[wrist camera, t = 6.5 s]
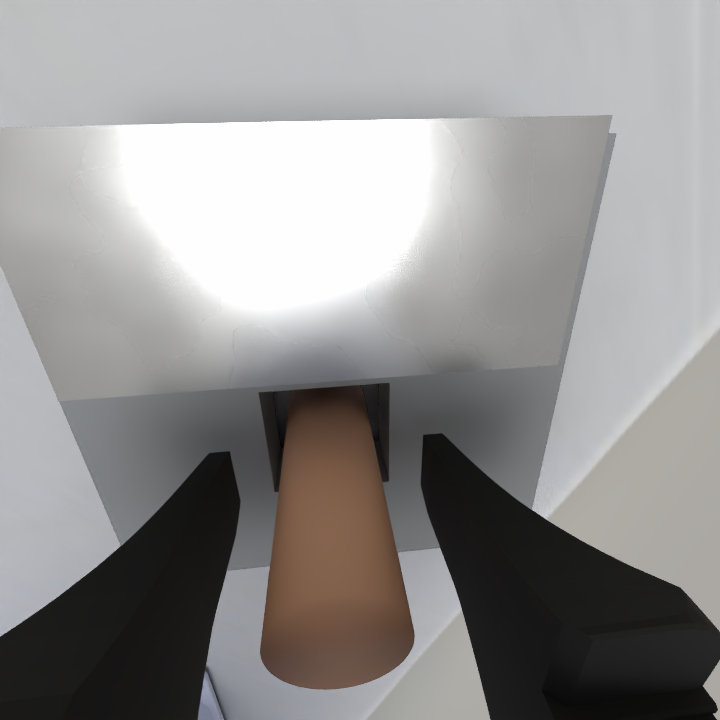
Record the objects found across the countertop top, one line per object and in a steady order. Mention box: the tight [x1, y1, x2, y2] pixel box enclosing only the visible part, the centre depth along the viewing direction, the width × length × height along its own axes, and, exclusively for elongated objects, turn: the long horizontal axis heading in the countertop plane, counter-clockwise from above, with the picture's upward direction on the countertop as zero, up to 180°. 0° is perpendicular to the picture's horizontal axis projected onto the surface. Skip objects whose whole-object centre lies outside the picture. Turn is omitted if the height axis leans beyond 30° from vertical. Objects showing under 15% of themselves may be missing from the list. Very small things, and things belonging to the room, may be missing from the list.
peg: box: [260, 385, 415, 689], centre depth 12 cm, size 3×3×9 cm
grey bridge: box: [0, 115, 612, 401], centre depth 9 cm, size 4×10×4 cm, turn 92°
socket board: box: [59, 133, 616, 571], centre depth 14 cm, size 15×16×2 cm
